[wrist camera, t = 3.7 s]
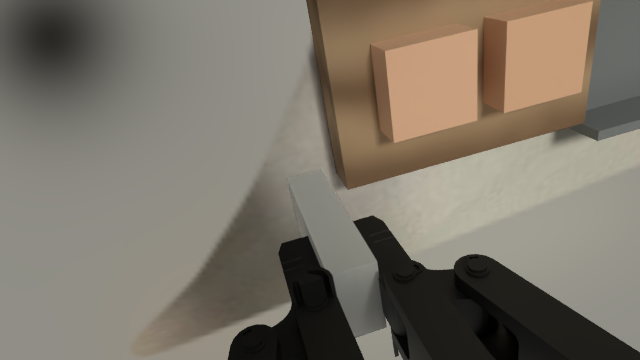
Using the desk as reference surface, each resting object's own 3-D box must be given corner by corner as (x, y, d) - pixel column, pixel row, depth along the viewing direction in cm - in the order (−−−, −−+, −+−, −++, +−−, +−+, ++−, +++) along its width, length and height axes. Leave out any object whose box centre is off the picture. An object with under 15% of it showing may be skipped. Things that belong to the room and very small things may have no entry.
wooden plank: (303, -17, 28) (314, -14, 25) (576, -75, 30) (611, -78, 28) (336, 172, 35) (347, 189, 32) (557, 111, 37) (584, 122, 35)
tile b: (484, 16, 29) (507, 21, 26) (564, -3, 29) (593, 0, 27) (483, 102, 32) (503, 113, 29) (555, 83, 32) (581, 92, 30)
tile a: (370, 44, 28) (384, 51, 25) (456, 23, 28) (477, 28, 26) (380, 130, 30) (394, 143, 28) (458, 109, 31) (477, 120, 29)
